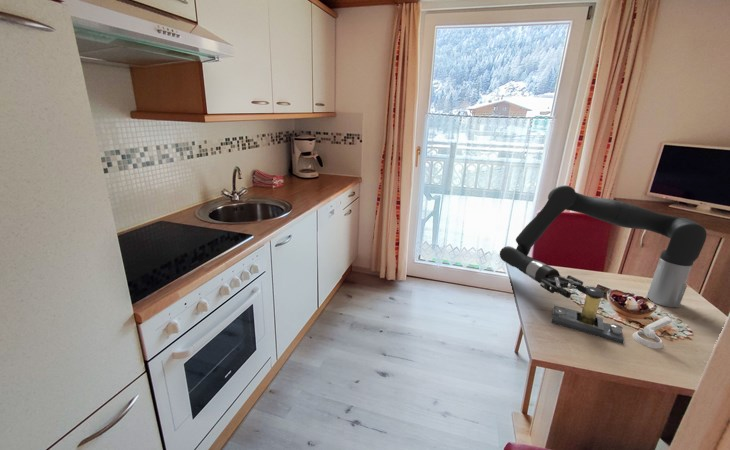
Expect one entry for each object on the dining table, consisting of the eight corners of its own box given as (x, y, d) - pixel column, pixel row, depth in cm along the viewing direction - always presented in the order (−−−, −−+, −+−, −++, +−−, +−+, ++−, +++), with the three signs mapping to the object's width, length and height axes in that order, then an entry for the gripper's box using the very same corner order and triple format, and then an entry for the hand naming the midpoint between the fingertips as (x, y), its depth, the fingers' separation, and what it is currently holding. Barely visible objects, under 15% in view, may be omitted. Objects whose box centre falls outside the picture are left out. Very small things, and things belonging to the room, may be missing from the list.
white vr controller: (693, 341, 97) (676, 328, 97) (652, 358, 104) (636, 346, 103) (679, 323, 104) (663, 310, 103) (642, 340, 110) (626, 328, 110)
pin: (593, 325, 113) (603, 289, 108) (593, 332, 109) (604, 295, 104) (576, 320, 115) (586, 285, 111) (576, 327, 111) (586, 291, 107)
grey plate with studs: (620, 331, 110) (622, 322, 109) (622, 344, 103) (625, 335, 102) (552, 312, 120) (554, 303, 119) (551, 322, 113) (553, 314, 112)
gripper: (529, 266, 124) (566, 287, 109) (558, 262, 128) (597, 281, 114) (525, 284, 126) (561, 306, 112) (554, 279, 131) (592, 300, 116)
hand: (579, 294), depth 113 cm, fingers open, 8 cm apart
